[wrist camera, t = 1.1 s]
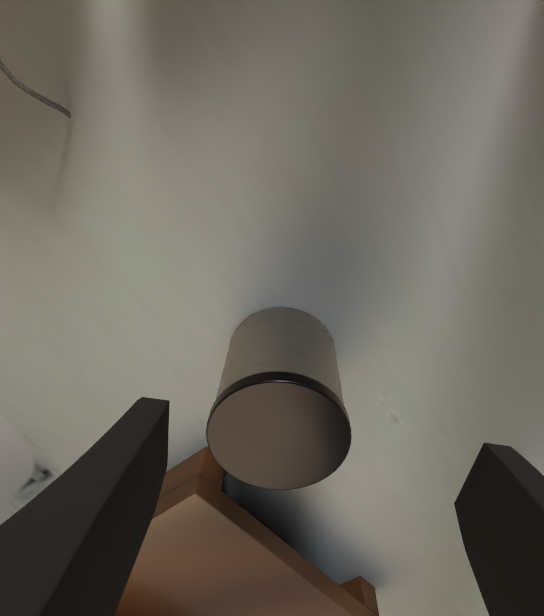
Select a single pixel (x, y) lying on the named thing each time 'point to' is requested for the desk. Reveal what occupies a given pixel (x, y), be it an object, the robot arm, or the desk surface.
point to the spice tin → (280, 403)
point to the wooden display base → (226, 559)
